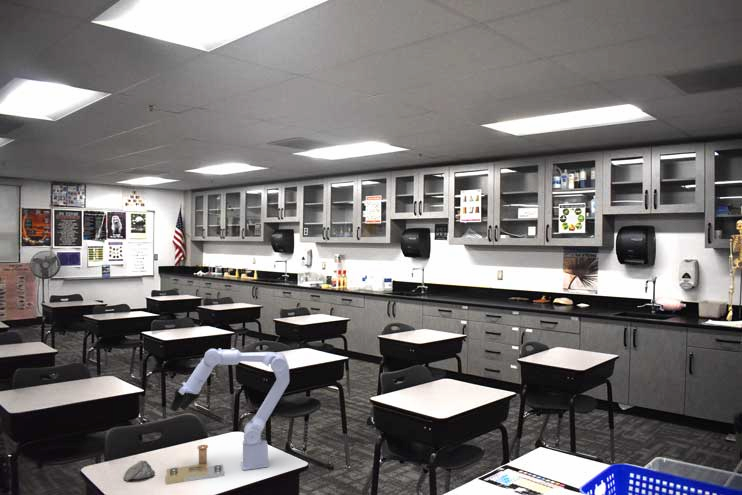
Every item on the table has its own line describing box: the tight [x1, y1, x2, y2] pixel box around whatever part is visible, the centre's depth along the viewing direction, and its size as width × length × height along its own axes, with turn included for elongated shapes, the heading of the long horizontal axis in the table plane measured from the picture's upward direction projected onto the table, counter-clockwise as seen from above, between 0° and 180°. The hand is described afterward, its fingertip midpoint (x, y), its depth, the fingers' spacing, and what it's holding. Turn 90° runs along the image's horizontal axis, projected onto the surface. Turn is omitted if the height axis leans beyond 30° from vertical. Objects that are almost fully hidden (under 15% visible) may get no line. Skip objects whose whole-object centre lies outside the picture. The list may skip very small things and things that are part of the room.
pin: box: [197, 444, 209, 466], centre depth 206 cm, size 4×4×7 cm
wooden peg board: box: [165, 464, 225, 485], centre depth 195 cm, size 20×8×3 cm, turn 110°
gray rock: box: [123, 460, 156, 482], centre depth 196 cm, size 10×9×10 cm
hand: (177, 409), depth 199 cm, fingers open, 7 cm apart
